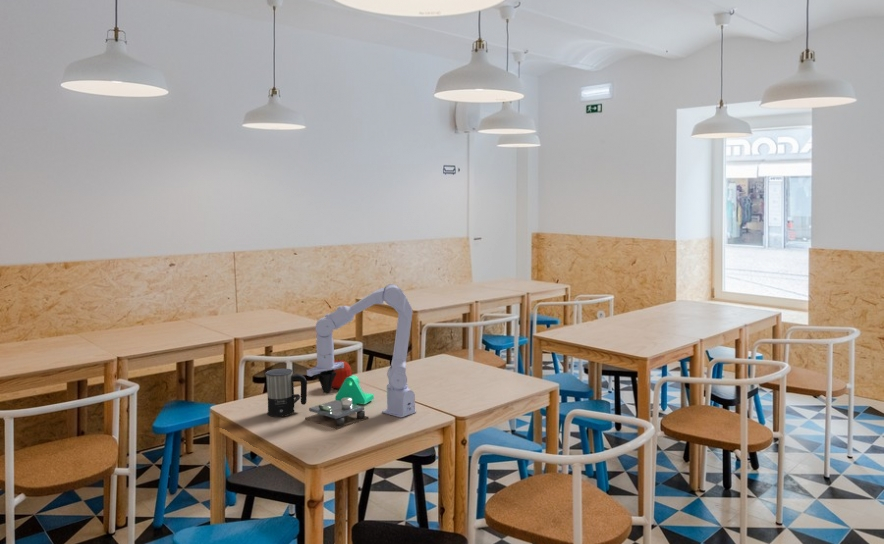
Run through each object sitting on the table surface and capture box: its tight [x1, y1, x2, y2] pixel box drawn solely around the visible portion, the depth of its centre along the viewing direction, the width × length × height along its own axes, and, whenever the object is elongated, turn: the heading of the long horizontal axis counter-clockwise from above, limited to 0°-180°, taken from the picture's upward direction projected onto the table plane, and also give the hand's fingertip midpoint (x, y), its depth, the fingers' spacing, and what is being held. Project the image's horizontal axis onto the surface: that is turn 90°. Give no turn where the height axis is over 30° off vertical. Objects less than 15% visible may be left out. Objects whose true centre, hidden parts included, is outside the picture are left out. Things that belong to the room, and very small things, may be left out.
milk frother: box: [264, 368, 308, 418], centre depth 234 cm, size 14×16×15 cm
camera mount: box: [334, 374, 375, 405], centre depth 242 cm, size 12×8×10 cm, turn 68°
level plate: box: [308, 397, 365, 419], centre depth 223 cm, size 14×12×4 cm
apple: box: [331, 358, 353, 390], centre depth 261 cm, size 10×10×12 cm
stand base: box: [304, 410, 369, 430], centre depth 223 cm, size 16×14×3 cm
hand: (326, 392), depth 226 cm, fingers closed
